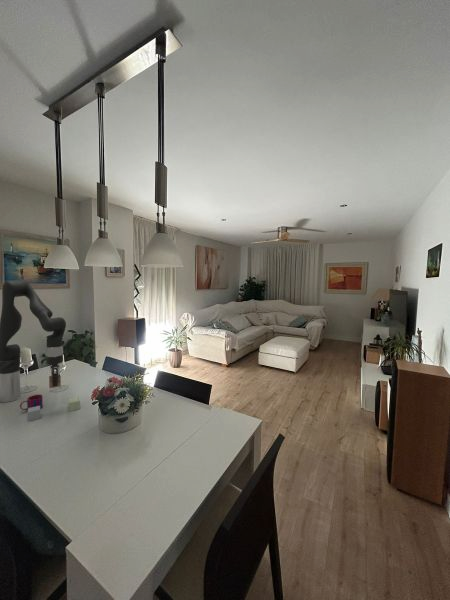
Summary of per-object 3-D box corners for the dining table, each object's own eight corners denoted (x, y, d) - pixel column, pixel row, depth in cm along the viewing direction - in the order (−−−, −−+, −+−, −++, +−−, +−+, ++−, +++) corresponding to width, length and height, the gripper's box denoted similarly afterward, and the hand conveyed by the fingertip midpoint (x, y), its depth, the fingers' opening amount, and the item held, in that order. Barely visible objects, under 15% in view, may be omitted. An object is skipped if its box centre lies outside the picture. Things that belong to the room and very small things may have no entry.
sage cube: (68, 407, 138) (68, 399, 137) (78, 405, 141) (78, 397, 140) (69, 411, 134) (69, 403, 133) (79, 409, 137) (79, 400, 136)
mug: (43, 408, 136) (43, 397, 135) (21, 415, 128) (20, 403, 128) (40, 404, 140) (40, 393, 140) (18, 411, 133) (18, 399, 132)
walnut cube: (49, 384, 132) (49, 376, 131) (60, 382, 135) (60, 374, 134) (49, 388, 128) (49, 379, 127) (60, 386, 131) (60, 377, 130)
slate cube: (28, 417, 127) (28, 408, 127) (40, 414, 130) (40, 405, 130) (27, 421, 123) (27, 412, 123) (40, 418, 126) (40, 409, 126)
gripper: (46, 351, 133) (46, 381, 134) (46, 358, 122) (46, 391, 123) (62, 349, 138) (62, 378, 139) (63, 356, 126) (63, 387, 128)
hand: (54, 384), depth 131 cm, fingers closed on walnut cube, 5 cm apart
